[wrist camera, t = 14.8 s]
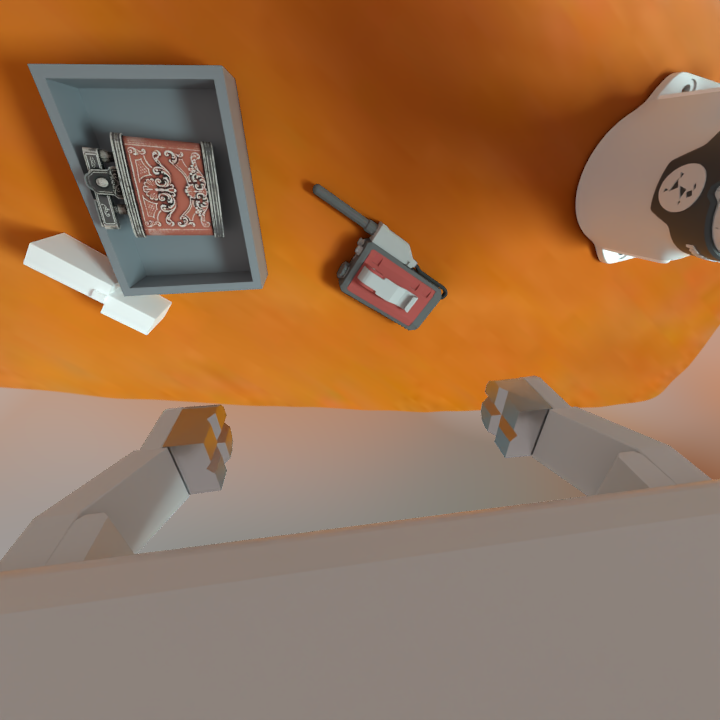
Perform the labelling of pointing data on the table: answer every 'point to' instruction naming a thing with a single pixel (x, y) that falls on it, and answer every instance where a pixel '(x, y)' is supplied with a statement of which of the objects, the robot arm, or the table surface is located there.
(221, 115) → the grey tray
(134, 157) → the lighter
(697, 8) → the table surface
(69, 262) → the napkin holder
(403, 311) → the walkie-talkie
